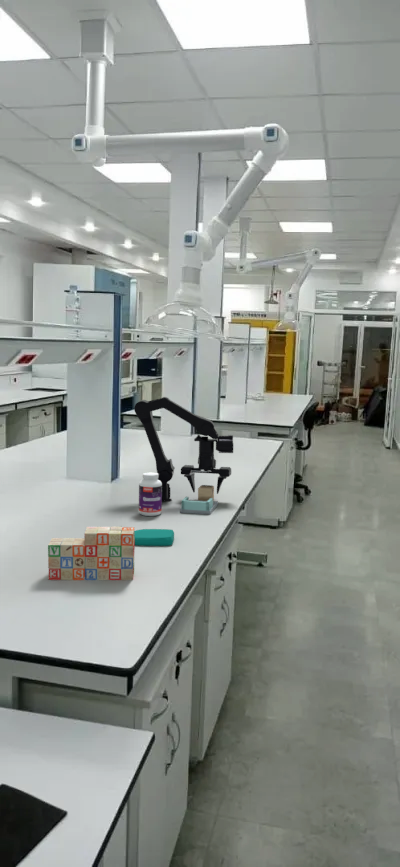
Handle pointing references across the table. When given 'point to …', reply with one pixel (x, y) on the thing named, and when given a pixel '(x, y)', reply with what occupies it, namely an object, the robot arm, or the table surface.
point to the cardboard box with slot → (205, 492)
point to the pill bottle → (150, 495)
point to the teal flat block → (154, 537)
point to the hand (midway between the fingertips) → (205, 492)
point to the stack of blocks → (93, 555)
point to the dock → (198, 506)
